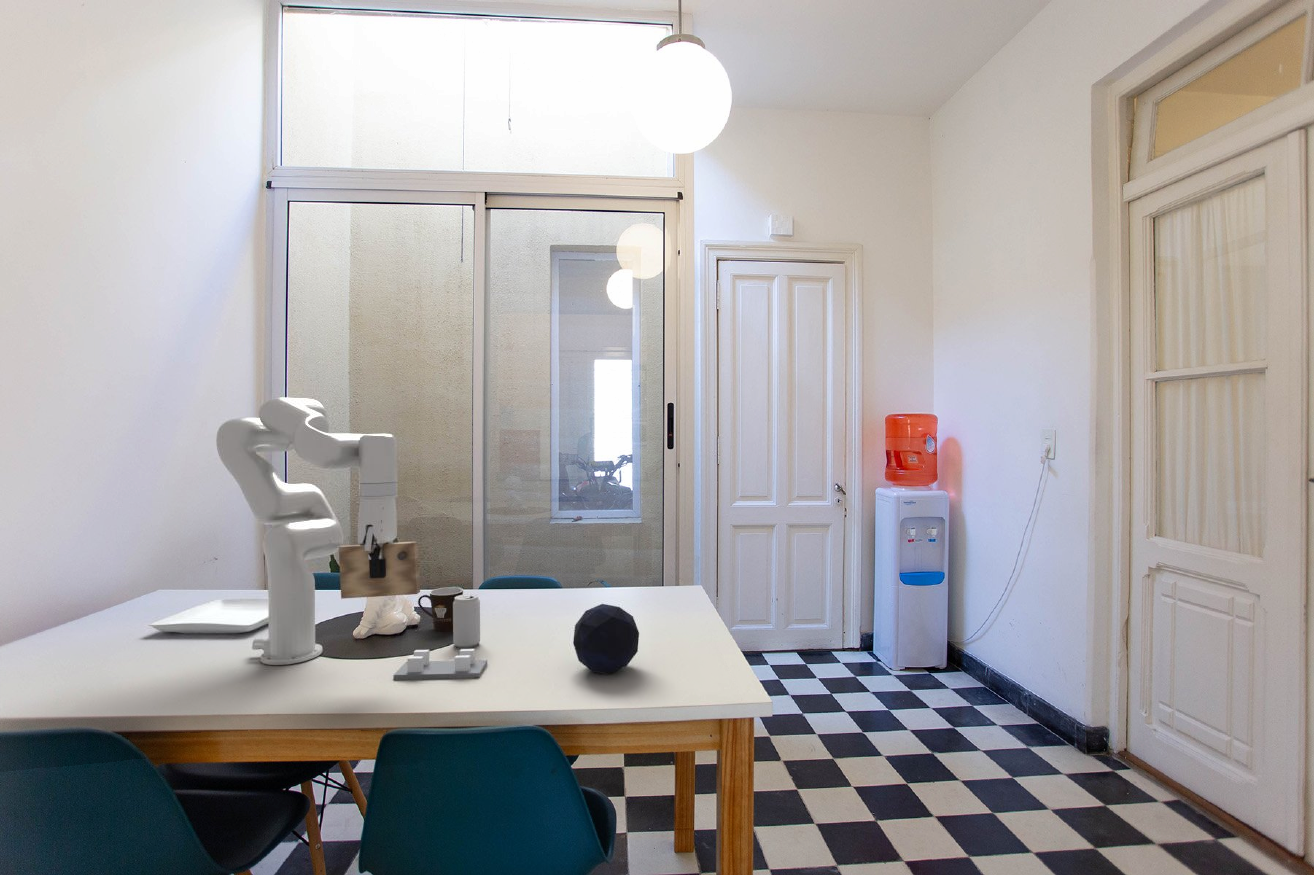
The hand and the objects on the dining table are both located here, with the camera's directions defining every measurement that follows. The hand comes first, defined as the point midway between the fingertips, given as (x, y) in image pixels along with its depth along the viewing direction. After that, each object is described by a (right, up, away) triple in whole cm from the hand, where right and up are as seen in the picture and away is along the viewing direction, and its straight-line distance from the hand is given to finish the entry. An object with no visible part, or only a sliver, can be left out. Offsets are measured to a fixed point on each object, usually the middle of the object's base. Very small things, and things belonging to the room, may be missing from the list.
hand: (380, 575), depth 137 cm
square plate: (-59, -22, +41) cm, 75 cm away
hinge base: (+12, -22, +2) cm, 25 cm away
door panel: (0, -4, 0) cm, 4 cm away
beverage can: (+13, -22, +20) cm, 32 cm away
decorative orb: (+48, -22, +3) cm, 53 cm away
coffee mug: (+2, -22, +35) cm, 41 cm away
